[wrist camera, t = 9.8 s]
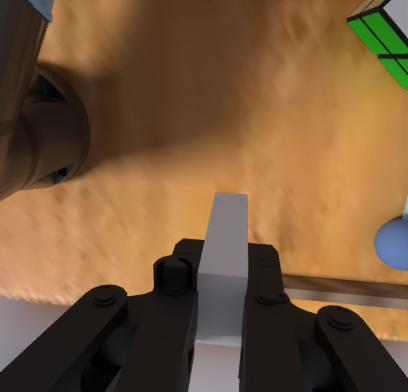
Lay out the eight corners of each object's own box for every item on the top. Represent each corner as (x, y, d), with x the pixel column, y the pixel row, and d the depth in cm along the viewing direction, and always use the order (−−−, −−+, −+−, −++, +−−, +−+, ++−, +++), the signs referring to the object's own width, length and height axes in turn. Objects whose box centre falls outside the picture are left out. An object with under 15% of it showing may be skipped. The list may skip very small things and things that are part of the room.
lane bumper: (244, 280, 49) (244, 294, 46) (255, 150, 42) (255, 157, 39) (496, 303, 46) (512, 319, 43) (554, 166, 39) (577, 175, 36)
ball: (420, 255, 44) (369, 241, 46) (439, 217, 41) (383, 203, 43) (423, 288, 39) (366, 271, 41) (445, 247, 36) (382, 231, 38)
